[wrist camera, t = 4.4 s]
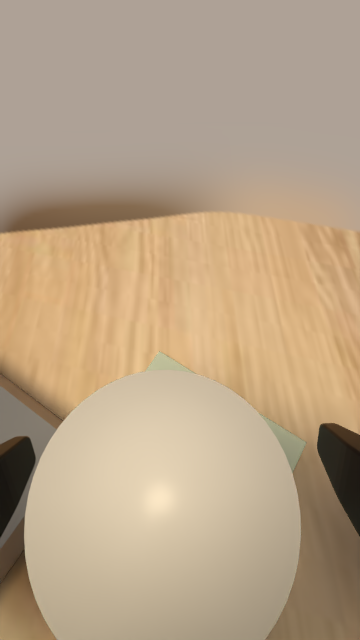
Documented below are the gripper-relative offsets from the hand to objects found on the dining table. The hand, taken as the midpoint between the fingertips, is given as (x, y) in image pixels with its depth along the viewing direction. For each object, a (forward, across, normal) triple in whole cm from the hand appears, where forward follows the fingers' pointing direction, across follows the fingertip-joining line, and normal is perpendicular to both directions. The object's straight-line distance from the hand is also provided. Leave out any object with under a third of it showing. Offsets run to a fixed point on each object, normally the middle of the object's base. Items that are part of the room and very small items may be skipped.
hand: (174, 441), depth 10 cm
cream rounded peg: (+4, 0, -6) cm, 7 cm away
